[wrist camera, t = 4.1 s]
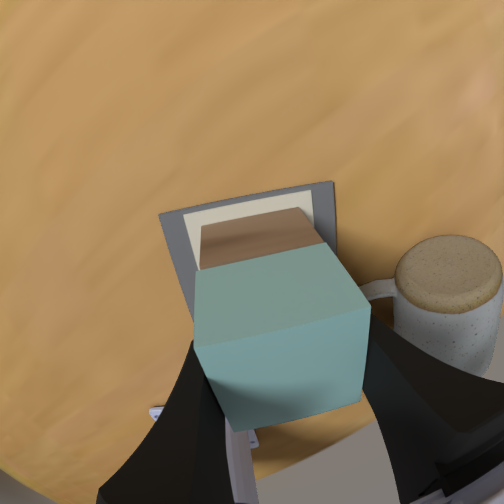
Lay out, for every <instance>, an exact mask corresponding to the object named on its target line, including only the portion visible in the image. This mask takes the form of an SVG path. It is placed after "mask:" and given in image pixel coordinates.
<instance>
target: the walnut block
mask: <svg viewBox="0 0 504 504" xmlns="http://www.w3.org/2000/svg"><path fill="white" fill-rule="evenodd" d="M320 243H324V241H323V240H322V238H321V237H320V236H319V234H318V233H317V232H316V230H315V229H314V227H313V226H312V225H311V223H310V222H309V220H308V219H307V218H306V216H305V215H304V214H303V212H302V211H301V210H300V208H299V207H294V208H289V209H283V210H278V211H273V212H268V213H262V214H257V215H252V216H247V217H242V218H237V219H232V220H227V221H222V222H217V223H212V224H208V225H203V226H201V240H200V261H199V267H200V270H204V269H208V268H213V267H217V266H222V265H226V264H231V263H235V262H240V261H244V260H249V259H253V258H258V257H262V256H267V255H271V254H276V253H280V252H285V251H289V250H294V249H298V248H303V247H307V246H312V245H316V244H320Z"/></svg>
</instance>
